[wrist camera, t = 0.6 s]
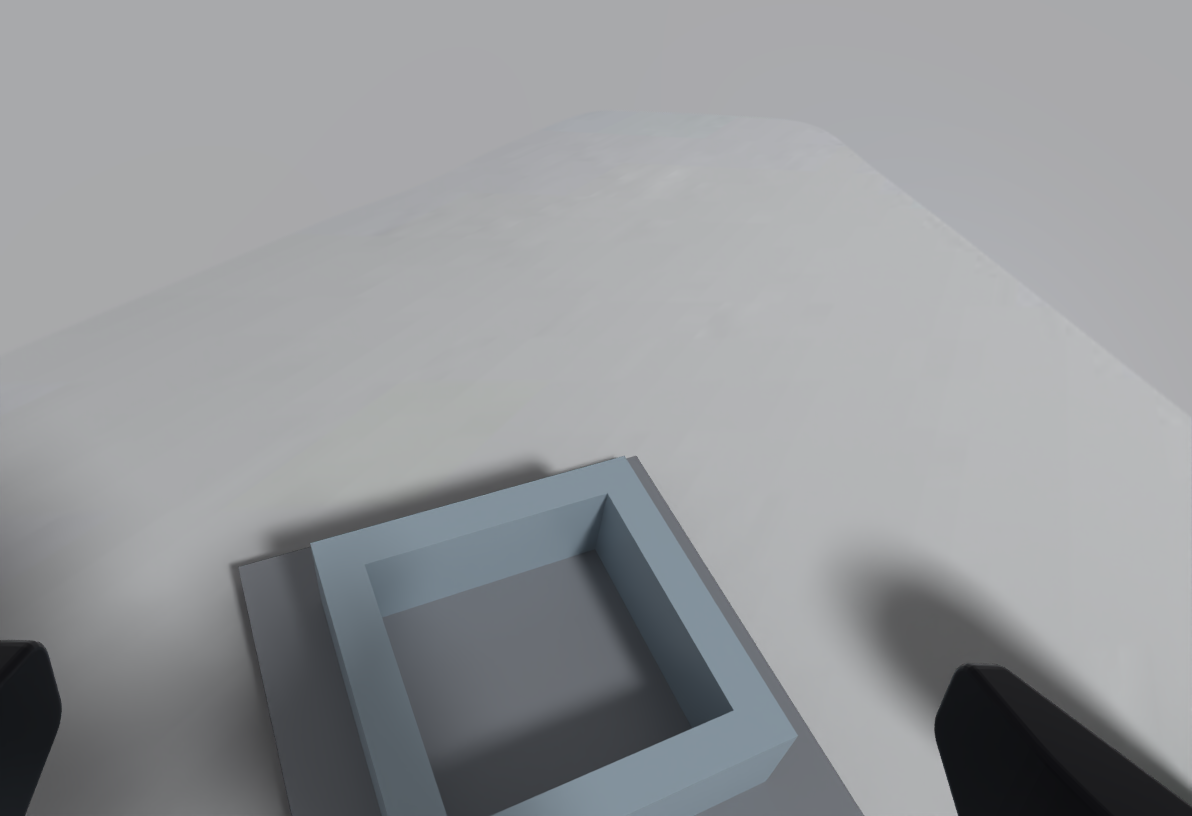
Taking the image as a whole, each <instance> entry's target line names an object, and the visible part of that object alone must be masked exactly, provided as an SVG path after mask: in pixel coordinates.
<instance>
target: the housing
mask: <svg viewBox="0 0 1192 816" xmlns="http://www.w3.org/2000/svg"><path fill="white" fill-rule="evenodd" d="M310 545H311V547H308V548H304V549H301V550H297V551H294V552H290V553H287V554H283V555H279V556H276V557H272V558H269V559H265V560H261V561H258V562H254V563H251V564H247V565H244V566H240V567H238V568H239V573H240V577H241V582H242V587H243V591H244V596H245V601H246V605H247V610H248V615H249V619H250V624H251V629H252V633H253V638H254V643H255V647H256V652H257V657H258V661H259V666H260V670H261V675H262V680H263V684H264V689H265V694H266V698H267V703H268V708H269V712H270V717H271V722H272V726H273V731H274V736H275V740H276V745H277V750H278V754H279V759H280V764H281V768H282V773H283V777H284V782H285V787H286V791H287V796H288V801H289V805H290V810H291V815H292V816H864V815H863V813H862V812H861V810H860V809H859V807H858V805H857V804H856V802H855V801H854V799H853V798H852V796H851V794H850V793H849V791H848V790H847V788H846V786H845V785H844V783H843V782H842V780H841V779H840V777H839V775H838V774H837V772H836V771H835V769H834V767H833V766H832V764H831V763H830V761H829V760H828V758H827V756H826V755H825V753H824V752H823V750H822V749H821V747H820V745H819V744H818V742H817V741H816V739H815V737H814V736H813V734H812V733H811V731H810V730H809V728H808V726H807V725H806V723H805V722H804V720H803V718H802V717H801V715H800V714H799V712H798V711H797V709H796V707H795V706H794V704H793V703H792V701H791V699H790V698H789V696H788V695H787V693H786V692H785V690H784V688H783V687H782V685H781V684H780V682H779V680H778V679H777V677H776V676H775V674H774V673H773V671H772V669H771V668H770V666H769V665H768V663H767V662H766V660H765V658H764V657H763V655H762V654H761V652H760V650H759V649H758V647H757V646H756V644H755V643H754V641H753V639H752V638H751V636H750V635H749V633H748V631H747V630H746V628H745V627H744V625H743V624H742V622H741V620H740V619H739V617H738V616H737V614H736V612H735V611H734V609H733V608H732V606H731V605H730V603H729V601H728V600H727V598H726V597H725V595H724V593H723V592H722V590H721V589H720V587H719V586H718V584H717V582H716V581H715V579H714V578H713V576H712V575H711V573H710V571H709V570H708V568H707V567H706V565H705V563H704V562H703V560H702V559H701V557H700V556H699V554H698V552H697V551H696V549H695V548H694V546H693V544H692V543H691V541H690V540H689V538H688V537H687V535H686V533H685V532H684V530H683V529H682V527H681V525H680V524H679V522H678V521H677V519H676V518H675V516H674V514H673V513H672V511H671V510H670V508H669V506H668V505H667V503H666V502H665V500H664V499H663V497H662V495H661V494H660V492H659V491H658V489H657V488H656V486H655V484H654V483H653V481H652V480H651V478H650V476H649V475H648V473H647V472H646V470H645V469H644V467H643V465H642V464H641V462H640V461H639V459H638V457H637V456H634V457H630V458H627V459H626V458H625V456H622V457H619V458H615V459H611V460H608V461H604V462H601V463H597V464H593V465H590V466H586V467H583V468H579V469H575V470H572V471H568V472H565V473H561V474H557V475H554V476H550V477H546V478H543V479H539V480H536V481H532V482H528V483H525V484H521V485H518V486H514V487H510V488H507V489H503V490H500V491H496V492H492V493H489V494H485V495H482V496H478V497H474V498H471V499H467V500H464V501H460V502H456V503H453V504H449V505H446V506H442V507H438V508H435V509H431V510H428V511H424V512H420V513H417V514H413V515H410V516H406V517H402V518H399V519H395V520H392V521H388V522H384V523H381V524H377V525H374V526H370V527H366V528H363V529H359V530H356V531H352V532H348V533H345V534H341V535H338V536H334V537H330V538H327V539H323V540H320V541H316V542H312V543H310Z"/></svg>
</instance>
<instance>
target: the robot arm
mask: <svg viewBox="0 0 1192 816" xmlns="http://www.w3.org/2000/svg"><path fill="white" fill-rule="evenodd" d="M61 712H62V708H61V699H60V695H59V692H58V688H57V684H56V681H55V677H54V674H53V670H52V666H51V663H50V659H49V655H48V652H47V650H46V648H45V647H44V646H43V645H42V644H41V643H40V642H36V641H26V640H0V816H25V814H26V811H27V809H28V806H29V804H30V801H31V798H32V796H33V793H34V791H35V788H36V785H37V783H38V780H39V778H40V775H41V772H42V770H43V767H44V765H45V762H46V759H47V757H48V754H49V752H50V749H51V746H52V744H53V741H54V739H55V736H56V733H57V731H58V728H59V724H60V720H61ZM935 738H936V742H937V746H938V749H939V753H940V756H941V759H942V763H943V766H944V770H945V773H946V776H947V780H948V783H949V786H950V790H951V793H952V797H953V800H954V803H955V807H956V810H957V813H958V816H1192V806H1190V805H1189V804H1188V803H1186V802H1185V801H1184V800H1182V799H1181V798H1180V797H1178V796H1177V795H1176V794H1174V793H1173V792H1172V791H1170V790H1169V789H1168V788H1166V787H1165V786H1164V785H1162V784H1161V783H1160V782H1158V781H1157V780H1155V779H1154V778H1153V777H1151V776H1150V775H1149V774H1147V773H1146V772H1145V771H1143V770H1142V769H1141V768H1139V767H1138V766H1137V765H1135V764H1134V763H1133V762H1131V761H1130V760H1129V759H1127V758H1126V757H1125V756H1123V755H1122V754H1121V753H1119V752H1118V751H1117V750H1115V749H1114V748H1113V747H1111V746H1110V745H1108V744H1107V743H1106V742H1104V741H1103V740H1102V739H1100V738H1099V737H1098V736H1096V735H1095V734H1094V733H1092V732H1091V731H1090V730H1088V729H1087V728H1086V727H1084V726H1083V725H1082V724H1080V723H1079V722H1078V721H1076V720H1075V719H1074V718H1072V717H1071V716H1070V715H1068V714H1067V713H1066V712H1064V711H1063V710H1062V709H1060V708H1059V707H1057V706H1056V705H1055V704H1053V703H1052V702H1051V701H1049V700H1048V699H1047V698H1045V697H1044V696H1043V695H1041V694H1040V693H1039V692H1037V691H1036V690H1035V689H1033V688H1032V687H1031V686H1029V685H1028V684H1027V683H1025V682H1024V681H1023V680H1021V679H1020V678H1019V677H1017V676H1016V675H1015V674H1013V673H1012V672H1010V671H1009V670H1008V669H1006V668H1005V667H1003V666H1000V665H997V664H976V663H966V664H962V665H961V666H960V667H959V668H957V669H956V671H955V673H954V675H953V677H952V679H951V682H950V684H949V686H948V689H947V691H946V693H945V696H944V698H943V700H942V703H941V705H940V707H939V710H938V712H937V715H936V718H935Z"/></svg>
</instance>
